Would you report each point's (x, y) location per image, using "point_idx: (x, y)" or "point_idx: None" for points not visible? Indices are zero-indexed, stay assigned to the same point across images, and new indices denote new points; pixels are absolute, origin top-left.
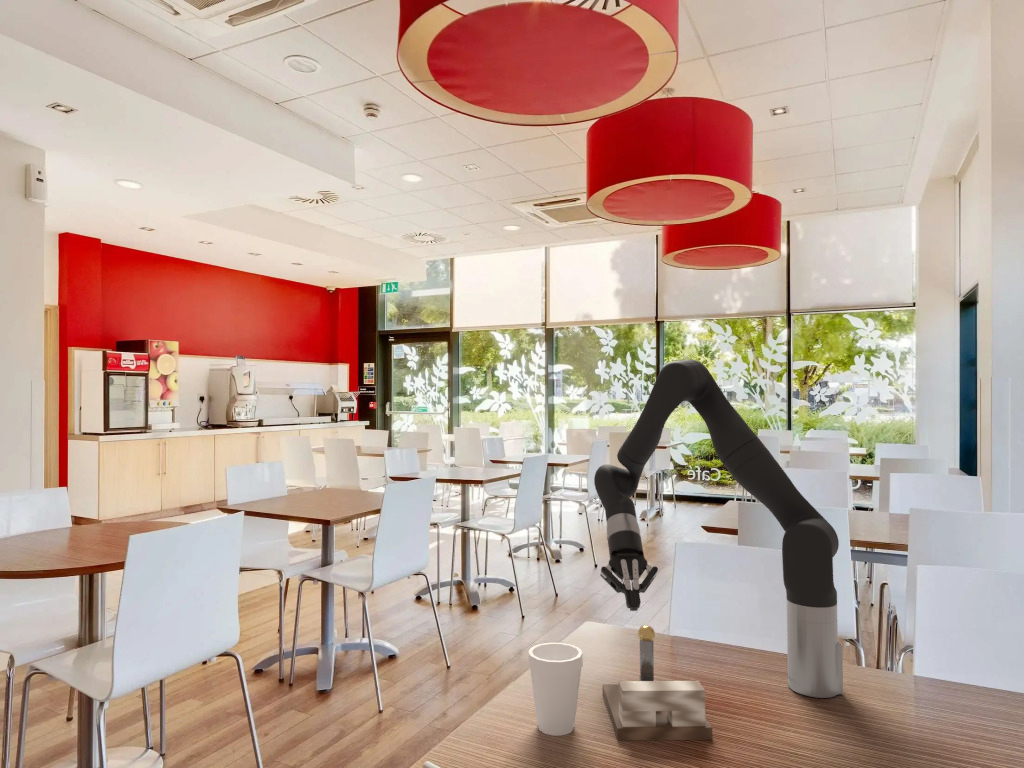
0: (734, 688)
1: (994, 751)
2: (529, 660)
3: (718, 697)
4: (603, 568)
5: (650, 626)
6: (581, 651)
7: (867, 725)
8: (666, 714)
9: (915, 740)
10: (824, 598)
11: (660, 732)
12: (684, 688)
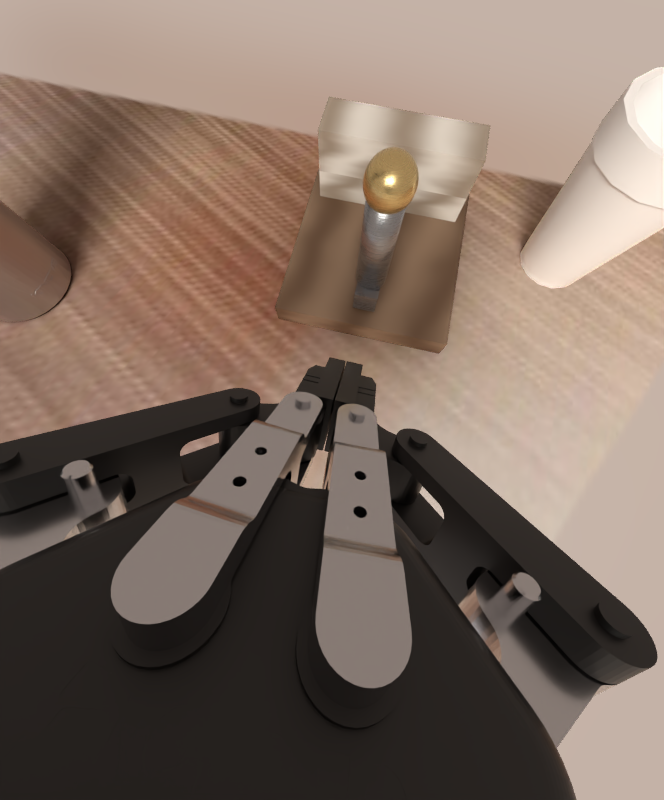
0: (168, 319)
1: None
2: None
3: (224, 293)
4: (624, 623)
5: (380, 157)
6: (625, 106)
7: (68, 164)
8: None
9: (48, 122)
10: None
11: None
12: (363, 110)
